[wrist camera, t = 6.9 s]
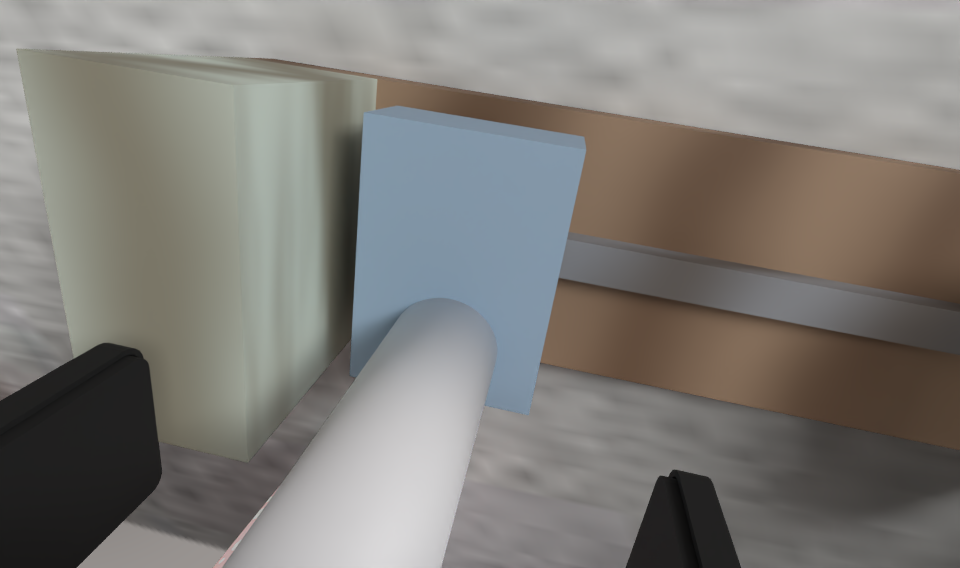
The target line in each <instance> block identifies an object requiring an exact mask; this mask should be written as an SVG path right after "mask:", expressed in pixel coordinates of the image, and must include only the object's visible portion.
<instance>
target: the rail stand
mask: <svg viewBox="0 0 960 568" xmlns="http://www.w3.org/2000/svg"><path fill="white" fill-rule="evenodd" d="M16 50H17V55H18V61H19V66H20V71H21V77H22V82H23V88H24V93H25V98H26V104H27V109H28V115H29V120H30V125H31V131H32V136H33V142H34V147H35V152H36V158H37V163H38V169H39V174H40V179H41V185H42V190H43V196H44V201H45V206H46V212H47V217H48V223H49V228H50V233H51V239H52V244H53V250H54V255H55V260H56V266H57V271H58V276H59V282H60V287H61V293H62V298H63V303H64V309H65V314H66V320H67V325H68V330H69V336H70V341H71V347H72V352H73V357H74V358H76V357H78V356H79V355H81V354H83V353H85V352H86V351H88V350H90V349H92V348H93V347H95V346H97V345H99V344H102V343H113V344H117V345H122V346H126V347H131V348H135V349H137V350H140V352H141V353H142V354H143V358H144V359H145V360H146V361H147V362H148V364H149V368H150V376H151V384H152V393H153V401H154V409H155V417H156V426H157V434H158V442H163V443H167V444H171V445H175V446H179V447H183V448H188V449H192V450H196V451H200V452H204V453H208V454H213V455H217V456H221V457H225V458H229V459H233V460H238V461H242V462H246V463H248V462H249V461H250V460H251V459H252V457H253V456H254V455H255V454H256V453H257V451H258V450H259V449H260V448H261V447H262V445H263V444H264V443H265V442H266V441H267V439H268V438H269V437H270V436H271V435H272V433H273V432H274V431H275V430H276V429H277V427H278V426H279V425H280V424H281V423H282V421H283V420H284V419H285V418H286V417H287V415H288V414H289V413H290V412H291V410H292V409H293V408H294V407H295V406H296V404H297V403H298V402H299V401H300V400H301V398H302V397H303V396H304V395H305V394H306V392H307V391H308V390H309V389H310V388H311V386H312V385H313V384H314V383H315V382H316V380H317V379H318V378H319V377H320V376H321V374H322V373H323V372H324V371H325V370H326V368H327V367H328V366H329V365H330V364H331V362H332V361H333V360H334V359H335V357H336V356H337V355H338V354H339V353H340V351H341V350H342V349H343V348H344V347H345V345H346V344H347V343H348V342H349V341H350V339H351V338H352V321H353V302H354V283H355V264H356V246H357V227H358V208H359V190H360V171H361V152H362V134H363V115H364V112H368V111H373V110H378V109H383V108H388V107H393V106H403V107H409V108H415V109H421V110H427V111H433V112H439V113H445V114H451V115H457V116H463V117H469V118H475V119H481V120H487V121H493V122H499V123H505V124H511V125H517V126H523V127H529V128H535V129H541V130H547V131H553V132H559V133H565V134H571V135H577V136H583V137H584V138H585V144H586V154H585V159H584V163H583V168H582V172H581V177H580V182H579V186H578V191H577V195H576V200H575V205H574V209H573V214H572V218H571V223H570V228H569V232H568V237H567V241H566V246H565V250H564V255H563V260H562V264H561V269H560V273H559V278H558V283H557V287H556V292H555V296H554V301H553V306H552V310H551V315H550V319H549V324H548V329H547V333H546V338H545V342H544V347H543V352H542V356H541V361H540V363H545V364H549V365H554V366H559V367H564V368H568V369H573V370H578V371H583V372H588V373H592V374H597V375H602V376H607V377H612V378H616V379H621V380H626V381H631V382H635V383H640V384H645V385H650V386H655V387H659V388H664V389H669V390H674V391H678V392H683V393H688V394H693V395H698V396H702V397H707V398H712V399H717V400H721V401H726V402H731V403H736V404H741V405H745V406H750V407H755V408H760V409H765V410H769V411H774V412H779V413H784V414H788V415H793V416H798V417H803V418H808V419H812V420H817V421H822V422H827V423H831V424H836V425H841V426H846V427H851V428H855V429H860V430H865V431H870V432H875V433H879V434H884V435H889V436H894V437H898V438H903V439H908V440H913V441H918V442H922V443H927V444H932V445H937V446H941V447H946V448H951V449H956V450H960V170H957V169H951V168H944V167H938V166H932V165H926V164H920V163H913V162H907V161H901V160H895V159H889V158H883V157H876V156H870V155H864V154H858V153H852V152H845V151H839V150H833V149H827V148H821V147H815V146H808V145H802V144H796V143H790V142H784V141H778V140H771V139H765V138H759V137H753V136H747V135H740V134H734V133H728V132H722V131H716V130H710V129H703V128H697V127H691V126H685V125H679V124H672V123H666V122H660V121H654V120H648V119H642V118H635V117H629V116H623V115H617V114H611V113H604V112H598V111H592V110H586V109H580V108H574V107H567V106H561V105H555V104H549V103H543V102H537V101H530V100H524V99H518V98H512V97H506V96H499V95H493V94H487V93H481V92H475V91H469V90H462V89H456V88H450V87H444V86H438V85H431V84H425V83H419V82H413V81H407V80H401V79H394V78H388V77H382V76H376V75H370V74H364V73H357V72H351V71H345V70H339V69H333V68H326V67H320V66H314V65H308V64H302V63H296V62H289V61H283V60H277V59H264V58H239V57H213V56H188V55H163V54H138V53H112V52H87V51H62V50H37V49H16Z"/></svg>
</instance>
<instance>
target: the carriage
mask: <svg viewBox="0 0 960 568" xmlns="http://www.w3.org/2000/svg"><path fill="white" fill-rule="evenodd" d="M585 154H586V144H585V138H584V137H583V136H577V135H571V134H565V133H559V132H553V131H547V130H541V129H535V128H529V127H523V126H517V125H511V124H505V123H499V122H493V121H487V120H481V119H475V118H469V117H463V116H457V115H451V114H445V113H439V112H433V111H427V110H421V109H415V108H409V107H403V106H393V107H388V108H383V109H378V110H373V111H368V112H364V115H363V134H362V152H361V171H360V190H359V208H358V227H357V246H356V264H355V283H354V302H353V321H352V339H351V358H350V376H352V377H356V379H355V380H354V382H353V383H352V385H351V386H350V387H349V389H348V390H347V392H346V393H345V394H344V396H343V397H342V399H341V400H340V401H339V403H338V404H337V406H336V407H335V409H334V410H333V411H332V413H331V414H330V416H329V417H328V418H327V420H326V421H325V423H324V424H323V425H322V427H321V428H320V430H319V431H318V433H317V434H316V435H315V437H314V438H313V440H312V441H311V442H310V444H309V445H308V447H307V448H306V450H305V451H304V452H303V454H302V455H301V457H300V458H299V459H298V461H297V462H296V464H295V465H294V466H293V468H292V469H291V471H290V472H289V474H288V475H287V476H286V478H285V479H284V481H283V482H282V483H281V485H280V486H279V488H278V489H277V490H276V492H275V493H274V495H273V496H272V498H271V499H270V500H269V502H268V503H267V505H266V506H265V507H264V509H263V510H262V512H261V513H260V514H259V516H258V517H257V519H256V520H255V522H254V523H253V524H252V526H251V527H250V529H249V530H248V531H247V533H246V534H245V536H244V537H243V539H242V540H241V541H240V543H239V544H238V546H237V547H236V548H235V550H234V551H233V553H232V554H231V555H230V557H229V558H228V560H227V561H226V563H225V564H224V565H223V567H222V568H441V566H442V562H443V559H444V555H445V551H446V547H447V544H448V540H449V536H450V532H451V529H452V525H453V521H454V517H455V514H456V510H457V506H458V502H459V499H460V495H461V491H462V487H463V484H464V480H465V476H466V472H467V469H468V465H469V461H470V457H471V454H472V450H473V446H474V442H475V439H476V435H477V431H478V427H479V424H480V420H481V416H482V412H483V409H484V406H489V407H494V408H498V409H503V410H507V411H512V412H516V413H521V414H526V415H529V411H530V407H531V402H532V397H533V393H534V388H535V384H536V379H537V374H538V370H539V365H540V361H541V356H542V352H543V347H544V342H545V338H546V333H547V329H548V324H549V319H550V315H551V310H552V306H553V301H554V296H555V292H556V287H557V283H558V278H559V273H560V269H561V264H562V260H563V255H564V250H565V246H566V241H567V237H568V232H569V228H570V223H571V218H572V214H573V209H574V205H575V200H576V195H577V191H578V186H579V182H580V177H581V172H582V168H583V163H584V159H585Z"/></svg>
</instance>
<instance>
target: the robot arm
mask: <svg viewBox="0 0 960 568" xmlns="http://www.w3.org/2000/svg"><path fill="white" fill-rule="evenodd" d="M161 474H162V467H161V459H160V450H159V442H158V434H157V426H156V417H155V409H154V401H153V393H152V384H151V376H150V368H149V364H148V362H147V361H146V360H145V359H144V358H143V354H142V353H141V352H140V350H137V349H135V348H131V347H126V346H122V345H117V344H113V343H102V344H99V345H97V346H95V347H93V348H92V349H90V350H88V351H86V352H85V353H83V354H81V355H79V356H78V357H76V358H74V359H72V360H71V361H69V362H67V363H66V364H64V365H62V366H60V367H59V368H57V369H55V370H53V371H52V372H50V373H48V374H46V375H45V376H43V377H41V378H39V379H38V380H36V381H34V382H33V383H31V384H29V385H27V386H26V387H24V388H22V389H20V390H19V391H17V392H15V393H13V394H12V395H10V396H8V397H6V398H5V399H3V400H1V401H0V568H77V567H78V566H79V565H80V564H81V563H82V562H83V561H84V560H85V559H86V558H87V557H88V556H89V555H90V554H91V553H92V552H93V551H94V550H95V549H96V548H97V547H98V546H99V545H100V544H101V543H102V542H103V541H104V540H105V539H106V538H107V537H108V536H109V535H110V534H111V533H112V532H113V531H114V530H115V529H116V528H117V527H118V526H119V525H120V524H121V523H122V522H123V521H124V520H125V519H126V518H127V517H128V516H129V515H130V514H131V513H132V512H133V511H134V510H135V509H136V508H137V507H138V506H139V505H140V504H141V503H142V502H143V501H144V500H145V499H146V498H147V497H148V496H149V495H150V494H151V493H152V492H153V491H154V489H155V488H156V487H157V485H158V483H159V481H160V478H161ZM626 568H741V566H740V563H739V560H738V557H737V554H736V551H735V548H734V545H733V542H732V539H731V536H730V533H729V530H728V527H727V524H726V521H725V518H724V515H723V512H722V509H721V506H720V503H719V500H718V497H717V494H716V491H715V488H714V486H713V483H712V481H711V479H710V478H709V477H706V476H701V475H697V474H693V473H688V472H684V471H679V470H673V471H672V472H671V473H670V475H669V477H665V476H659V477H658V479H657V481H656V484H655V487H654V490H653V492H652V495H651V498H650V501H649V504H648V506H647V509H646V512H645V515H644V518H643V521H642V523H641V526H640V529H639V532H638V535H637V537H636V540H635V543H634V546H633V549H632V552H631V554H630V557H629V560H628V563H627V566H626Z"/></svg>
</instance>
